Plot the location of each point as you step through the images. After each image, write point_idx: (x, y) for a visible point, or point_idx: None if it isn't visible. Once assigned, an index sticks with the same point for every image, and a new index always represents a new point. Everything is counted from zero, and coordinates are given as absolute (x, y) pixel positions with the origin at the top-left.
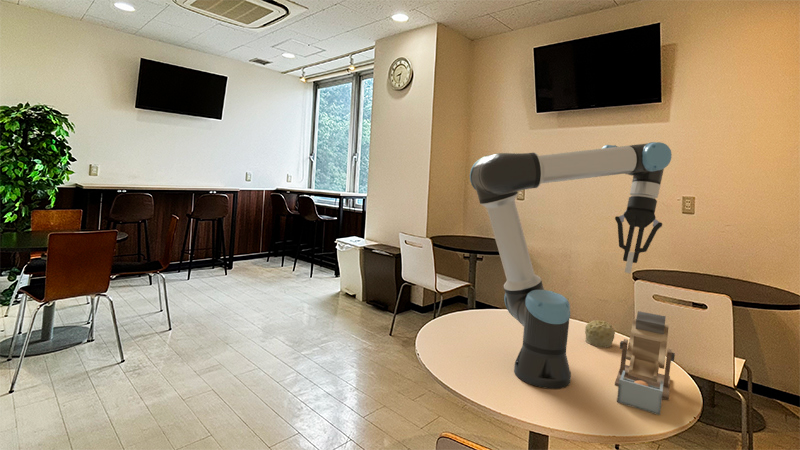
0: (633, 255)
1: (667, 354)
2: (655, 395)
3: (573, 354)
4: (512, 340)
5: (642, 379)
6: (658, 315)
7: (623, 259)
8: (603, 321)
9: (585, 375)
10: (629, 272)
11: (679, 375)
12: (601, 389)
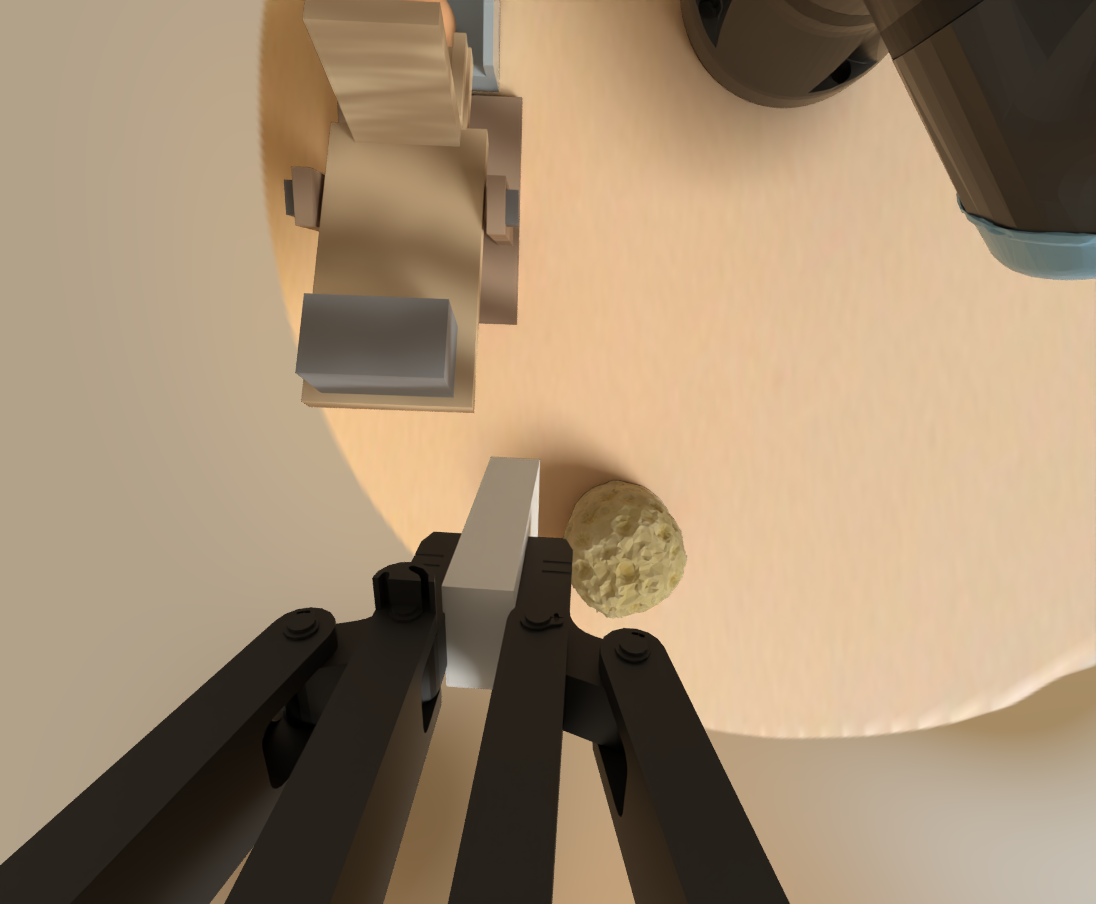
0: (454, 558)
1: (312, 168)
2: None
3: (697, 324)
4: (959, 309)
5: None
6: (333, 368)
7: (567, 545)
8: (619, 591)
9: (631, 121)
10: (496, 460)
11: None
12: (563, 18)
